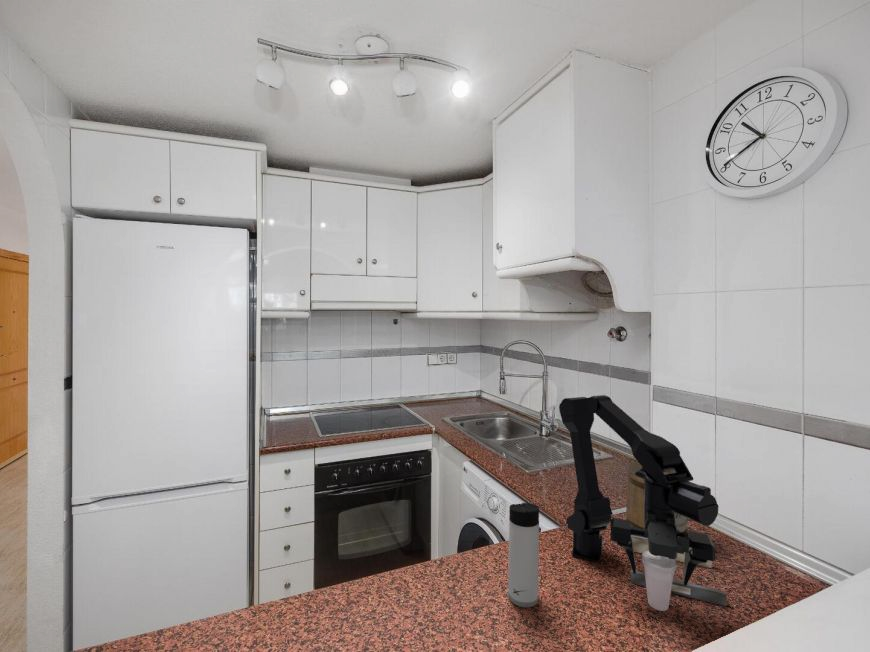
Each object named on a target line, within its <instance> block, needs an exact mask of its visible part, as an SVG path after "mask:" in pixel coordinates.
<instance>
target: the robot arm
mask: <svg viewBox="0 0 870 652" xmlns="http://www.w3.org/2000/svg"><path fill="white" fill-rule="evenodd" d="M558 410H559V414H560V415H559V416H560V419H561V423H562V424H563V425H564V427H565V428H566V429H567V431H568V432H569V436H570V441H571V442H570V443H571V448H572V456H573V462H574V469H575V476H576V482H577V489H578V491H577V493H576V496H575V499H574V501H573V510H574V511H573V513H572V514H570V515H569V516H568V517H566V519H565V521H566V526H567V528H568V529H569V530H570V531H572V551H571V556H573V557H575V558H578V559H579V558H580V559H583V560H588V561H592V562H595V563H596V562H598V563H599V562H600V561H601V560H600V559H601V557H602V556H603V535H602V534H601V531H606V530H607V527H608V525H609V523H610V540H611V541H612V542H615V543H616V544H617V546H619V547H622V548H623V550H624V552H625V554H626V555H627V558H628V560H629V564H630V567H631V570H633V573H634V574H636V571H637V568H636V566H637V565H636V559H635V552H634V549H633V542H632V537H635V538H640V539H645V540H648V547H649V552H650V553H651V554H652V555H654V556H663V557H668V558H669V559H676V558H677V553H680V554H684V552H685V559H684V562H683V571H682V579H683V580H682V581H683V583H684V585H685V586H686V585H687V583H689V581H690V579H691V577H692V575H693V573H694V570H696V567H697V566H699V565H698V564H700V563H707V560H709V561H712V562H715V561H716V548H715V545H714V543H713V541H712V538H711V536H709V535H708V534H707V533H702V532H697V531H695V532H694V531H690V530H687V533H683V532H680V531H678V530H677V529H676V526H675V512H676V513H678V514H680V515H682V516H685V517H687V519H689V520H691V521H694V522H696V523H698V524H701V526H702V525H703V526H705V527H710V526H711V525H712V524H713V523H714V522H715V521H716V520H717V517H718V515H719V504H718V503H717V502H718V501H717V499H716V497H715V496H714V495H713V494H711V493H712V489H711V488H710V487H708V486H705V485H700V484H697V483H694V482H691V481H694V477H693V475H692V473H691V472H690V470H689V468H688V466H687V464H686V463H685V461H684V458H682V456H681V451H680V449H679V448H678V447H677V446H676V445H675V444H674V443H672V442H670V441H668V440H667V439H665V438H664V437H662V436H660V435H657V434H655V433H652V432H649V431H648V430H647V429H645V428H643V426H641V425H640V424H639V423H638V422H637V421H635V420H634V419H633V418H632V417H631V416H630V415H628V413H626V412H625V411H624V410H623V409H622V408H621V407H619V406H618V405H617V404H616V403H615V402H614V401H613V400H612V398H611V397H610V396H608V395H605V394H601V395H592V396H590V397H586V396H580V397H579V396H578V397H575V396H574V397H565V398H563V399H562V400H561V402H560V403H559V405H558ZM595 414H596V416H597V417H598V418H600V419H601V420H602V421H603V422H604V424H606V425H607V426H608V427H609V428H610V429H612V430H613V431H614V432H615V434H617V435H618V436H619V437H620V438H621V439H622V440H623V441H624V442H625V443H627V445H628V446H629V448H630V450H631V453H632V455H633V458H634V459H635V460H636V462H639V464H640V465H641V466H642V469H641V470H639V471H637V472H636V473H635V475H636V476H638V477H640V478H643V479H644V529H640V528H635V527H631V526H630V521H629V520H626V519H622V518H618V517H612V516H613V514H614V513H613V511H612V507H611V499H610V498H609V497H608V496H607V497H606V496H605V495H604V494H603V493H602V491H600V487H599V480H598V474H597V468H596V467H597V466H596V461H595V456H594V449H593V443H592V437H591V430H592V427H593V424H594V422H595ZM672 470H675V471H676V472H677V473H671V474H666V475H664V473H663V472H667V471H672Z"/></svg>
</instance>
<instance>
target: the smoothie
mask: <svg viewBox="0 0 870 652" xmlns="http://www.w3.org/2000/svg"><path fill="white" fill-rule="evenodd" d="M641 562H642V564H643V569H644V573H645V579H646V593H647V594H646V595H647V602H648V603H647V604H648V605H649V606H650V607H651V608H652V609H655V610H657V611H660V612H661V611H662V612H665V611H668V610H669V605H670V602H671V601H670V599H671V595H672V593H671V588H672V582H673V579H674V575H675V572H676V571H677V561H676V560H674V559H669V558H668V557H663V556H654V555H652V554H651V553H650V552H649V551H645V552H644V553H641Z"/></svg>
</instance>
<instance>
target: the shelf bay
mask: <svg viewBox="0 0 870 652" xmlns="http://www.w3.org/2000/svg"><path fill="white" fill-rule="evenodd" d="M632 542H633V549H634V553H639V554H643V553H644V552H645V551H649V547H648V540H645V539H640V538H635V537H632ZM684 559H685V552H684V554H680V553H677V558H676V559H674V560H675V562H681V563H684ZM712 563H713V561H709V560H707V563H700V564H698V565H697V566H699V567H704V568H709V569H712V568H713V566H712ZM633 583H634V584H633ZM630 584H633V585H637V586H641V585H642V586H641V587H646V579H645V571H644V572H643V571H638V570H636V574H634V573H633V570H632V569H630ZM671 594H674V595H678V596H684V597H687V598H691V599H696V600H699V601H704V602H708V603H712V604H716V605H721V606H724V607H727V605H728V603H727V601H728V600H727V599H728V598H727V597H728V594H727V591H724V590H721V589H717V588H713V587H708V586H704V585H699V584H694V583H692V582H691V583H690V582H688V583H687V585H686V586H685V585H684V583H683V580H677V579H674V578H673V582H672V588H671Z"/></svg>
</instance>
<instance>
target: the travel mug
mask: <svg viewBox="0 0 870 652" xmlns="http://www.w3.org/2000/svg"><path fill="white" fill-rule="evenodd" d="M539 555H540V508H539V505H536V504H535V503H534V504H533V503H527V502H521V503H512V504H510V505H509V518H508V576H507V577H508V581H507V582H508V584H507V585H508V589H507V592H508V593H507V596H508V599H509V600H510V602H511V603H512V604H513V605H515V606H518V607H520V608H531V607H534V606H536V605H537V604H538V602H539V579H540V578H539V574H540V573H539V569H540V565H539V564H540V563H539V562H540V561H539V559H540V558H539V557H540V556H539Z"/></svg>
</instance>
